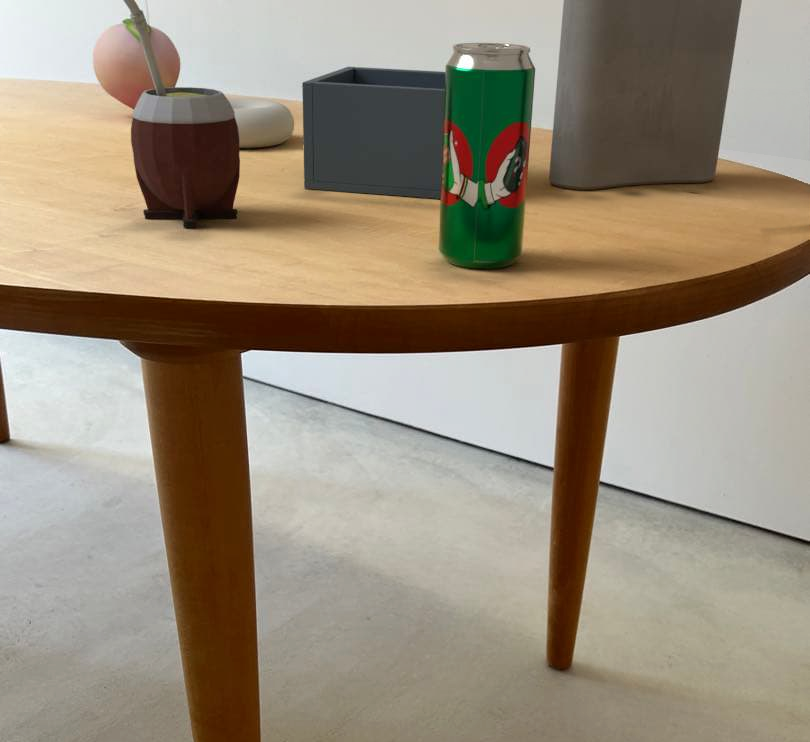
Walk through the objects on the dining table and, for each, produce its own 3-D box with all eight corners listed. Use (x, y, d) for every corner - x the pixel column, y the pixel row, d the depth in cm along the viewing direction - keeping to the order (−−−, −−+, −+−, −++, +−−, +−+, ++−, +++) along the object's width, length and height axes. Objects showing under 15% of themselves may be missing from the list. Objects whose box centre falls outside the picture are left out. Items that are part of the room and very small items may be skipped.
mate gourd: (242, 205, 79) (231, -30, 72) (243, 232, 72) (231, -26, 65) (135, 206, 78) (114, -33, 71) (126, 232, 72) (101, -28, 64)
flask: (685, 168, 96) (722, -98, 86) (726, 181, 91) (771, -99, 82) (532, 177, 91) (554, -105, 81) (568, 192, 86) (595, -106, 76)
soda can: (525, 253, 69) (541, 44, 64) (516, 274, 65) (531, 52, 59) (446, 247, 70) (454, 40, 65) (431, 267, 66) (439, 47, 60)
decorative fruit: (89, 112, 116) (78, 6, 111) (166, 109, 119) (158, 6, 115) (111, 125, 109) (100, 13, 104) (192, 121, 112) (185, 12, 107)
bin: (481, 172, 92) (486, 73, 89) (451, 200, 83) (456, 91, 79) (347, 162, 95) (347, 66, 91) (304, 188, 85) (301, 82, 81)
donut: (306, 151, 100) (282, 131, 108) (305, 110, 98) (281, 93, 106) (194, 154, 97) (179, 133, 105) (192, 112, 95) (176, 94, 104)
